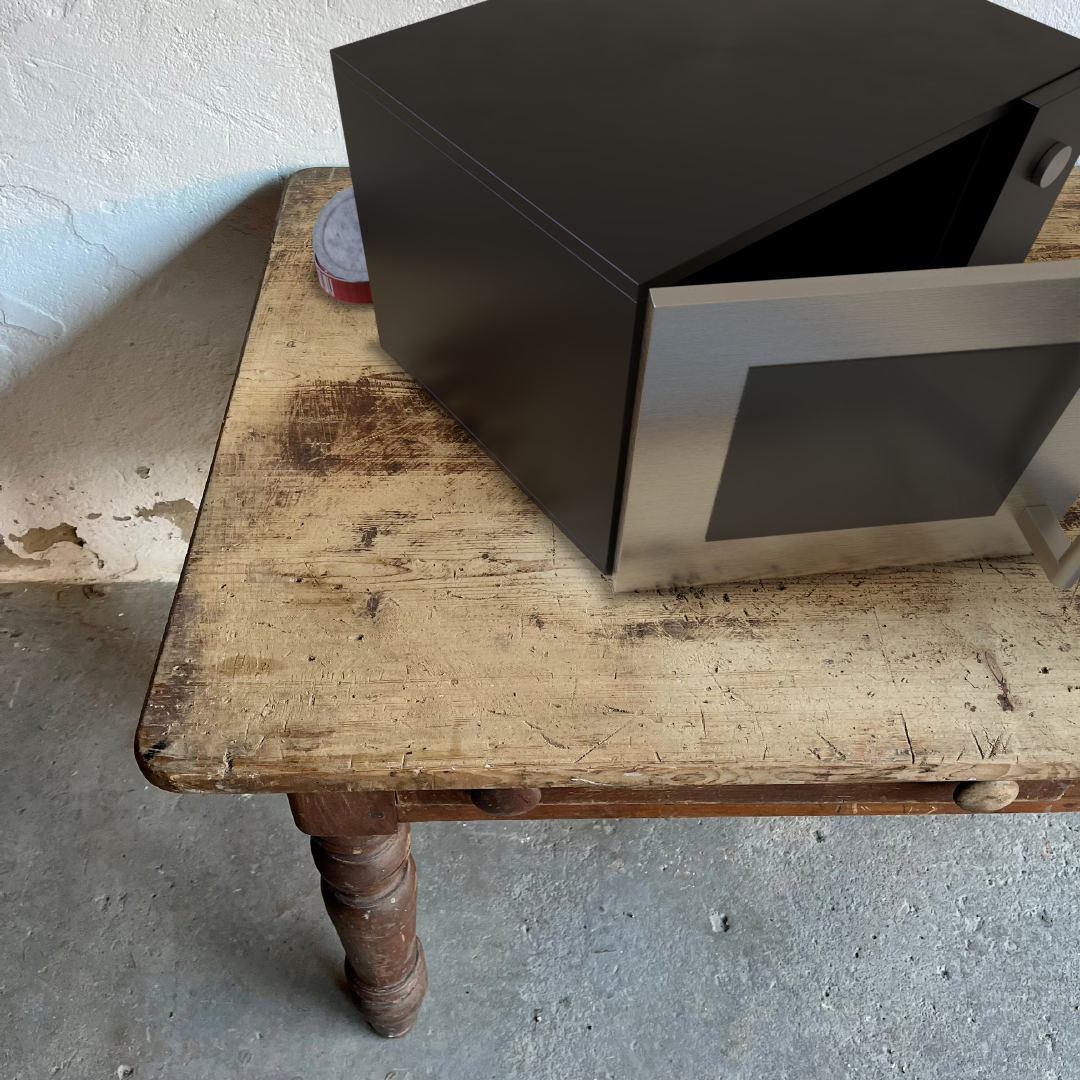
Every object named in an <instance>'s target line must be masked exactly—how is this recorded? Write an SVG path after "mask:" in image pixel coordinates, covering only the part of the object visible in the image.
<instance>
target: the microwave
mask: <svg viewBox="0 0 1080 1080" xmlns="http://www.w3.org/2000/svg"><path fill="white" fill-rule="evenodd" d="M329 56H330V60H331V68H332V69H331V70H332V74H333V75H332V76H333V80H334V86H335V91H336V98H337V105H338V109H339V116H340V121H341V127H342V132H343V133H342V134H343V138H344V144H345V150H346V156H347V162H348V166H349V173H350V178H351V183H352V184H351V185H353V191H354V197H355V202H356V208H357V214H358V220H359V226H360V231H361V237H362V243H363V249H364V254H365V260H366V266H367V272H368V278H369V283H370V289H371V295H372V301H373V302H372V306H373V312H374V317H375V323H376V329H377V334H378V335H377V336H378V340H379V346H380V347H381V349H382V350H383V351H384V352H385V353H386V354H387V355H388V356H389V357H390V359H392V360H393V361H394V362H395V363H396V364H397V365H398V366H399V367H400V368H401V369H402V371H404V372H405V373H406V374H407V375H408V376H409V377H410V378H411V379H412V380H413V381H414V382H415V383H416V384H417V386H418V387H420V388H421V390H422V391H424V393H425V394H426V395H427V396H429V398H430V399H431V400H432V401H433V402H434V403H435V404H436V405H437V406H438V407H439V408H440V409H441V410H442V411H443V412H444V413H445V414H446V415H447V416H448V417H449V418H450V419H451V420H452V421H453V422H454V423H455V424H456V425H457V426H458V427H459V428H460V430H461V431H462V432H464V433H465V434H466V435H467V436H468V438H469V439H470V440H471V441H472V442H473V443H474V444H475V445H476V446H477V447H478V448H479V449H480V450H481V451H482V452H483V453H484V454H485V455H486V456H487V457H488V459H490V460H491V462H493V463H494V464H495V465H496V466H497V467H498V469H500V470H501V471H502V472H503V473H504V474H505V475H506V476H507V478H509V479H510V481H511V482H512V483H513V484H515V485H516V486H517V488H519V490H520V492H522V493H523V494H524V495H525V496H526V497H527V498H528V499H529V500H530V501H531V502H532V503H533V504H534V505H535V506H536V507H537V508H538V510H540V511H541V512H542V514H544V515H545V516H546V517H547V518H548V519H549V520H550V521H551V523H552V524H553V525H554V526H556V528H557V529H558V530H559V531H560V532H561V533H562V534H563V535H564V536H565V537H566V538H567V539H568V540H569V541H570V542H571V543H572V544H573V545H574V546H575V547H576V548H577V549H578V550H579V551H580V552H581V553H582V554H583V555H584V557H586V558H587V559H588V560H589V561H590V562H591V563H592V565H594V566H595V567H596V569H598V570H599V572H601V574H602V575H603V576H606V575H608V574H609V573H612V571H613V563H614V556H615V548H616V540H617V532H618V525H619V517H620V509H621V501H622V494H623V486H624V478H625V471H626V463H627V455H628V447H629V440H630V432H631V424H632V416H633V409H634V401H635V393H636V385H637V378H638V370H639V362H640V354H641V347H642V339H643V331H644V324H645V316H646V308H647V300H648V293H649V289H650V288H663V287H677V286H692V285H707V284H722V283H737V282H751V281H766V280H781V279H796V278H811V277H825V276H840V275H855V274H870V273H885V272H899V271H914V270H929V269H944V268H959V267H973V266H988V265H1003V264H1018V263H1025V261H1026V259H1027V257H1028V255H1029V253H1030V252H1031V249H1032V248H1033V246H1034V244H1035V242H1036V240H1037V238H1038V236H1039V234H1040V232H1041V230H1042V228H1043V226H1044V225H1045V223H1046V222H1047V219H1048V217H1049V215H1050V213H1051V211H1052V210H1053V208H1054V205H1055V204H1056V201H1057V200H1058V198H1059V195H1060V194H1061V192H1062V190H1063V188H1064V186H1065V184H1066V182H1067V181H1068V179H1069V177H1070V175H1071V173H1072V171H1073V170H1074V167H1075V165H1076V163H1077V161H1078V160H1079V157H1080V37H1077V36H1075V35H1072V34H1070V33H1067V32H1065V31H1063V30H1060V29H1058V28H1055V27H1053V26H1051V25H1047V24H1046V23H1043V22H1041V21H1039V20H1036V19H1034V18H1032V17H1029V16H1026V15H1024V14H1022V13H1019V12H1017V11H1014V10H1012V9H1009V8H1007V7H1005V6H1002V5H1000V4H997V3H996V2H992V1H990V0H484V1H483V0H482V1H480V2H477V3H473V4H471V5H466V6H464V7H460V8H457V9H455V10H451V11H448V12H445V13H442V14H439V15H435V16H432V17H429V18H427V19H423V20H420V21H419V20H418V21H417V22H413V23H409V24H407V25H404V26H400V27H396V28H394V29H390V30H388V31H387V30H386V31H384V32H381V33H378V34H375V35H371V36H369V37H365V38H362V39H359V40H358V39H357V40H355V41H352V42H349V43H346V44H342V45H339V46H337V47H333V48H330V49H329Z"/></svg>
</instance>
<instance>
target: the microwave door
mask: <svg viewBox="0 0 1080 1080" xmlns="http://www.w3.org/2000/svg"><path fill="white" fill-rule="evenodd" d="M1079 498H1080V259H1078V258H1077V259H1065V260H1063V259H1061V260H1050V261H1034V262H1024V263H1018V264H1003V265H988V266H973V267H959V268H944V269H929V270H914V271H899V272H885V273H870V274H855V275H840V276H825V277H811V278H796V279H781V280H766V281H751V282H737V283H722V284H707V285H692V286H677V287H663V288H650V289H649V293H648V300H647V308H646V316H645V324H644V331H643V339H642V347H641V354H640V362H639V370H638V378H637V385H636V393H635V401H634V409H633V416H632V424H631V432H630V440H629V447H628V455H627V463H626V471H625V478H624V486H623V494H622V501H621V509H620V517H619V525H618V532H617V540H616V548H615V556H614V563H613V571H611V580H612V585H613V590H614V593H616V594H617V593H627V592H638V591H650V590H659V589H670V588H680V587H681V588H682V587H692V586H700V585H701V586H703V585H712V584H721V583H722V584H723V583H733V582H744V581H755V580H756V581H757V580H765V579H778V578H788V577H797V576H807V575H808V576H809V575H817V574H829V573H840V572H851V571H862V570H871V569H880V568H881V569H883V568H894V567H902V566H915V565H924V564H933V563H934V564H935V563H945V562H955V561H967V560H977V559H986V558H988V559H989V558H998V557H1008V556H1019V555H1031V554H1033V555H1034V557H1035V558H1036V560H1037V562H1038V564H1039V565H1040V567H1041V569H1042V571H1043V573H1044V575H1045V576H1046V578H1047V580H1048V582H1049V583H1050V584H1051V585H1052V586H1053V587H1055V588H1057V589H1060V590H1069V589H1071V588H1072V587H1073V586H1074V585H1075V584H1076V583H1077V581H1078V580H1079V579H1080V533H1078V535H1077V536H1076V537H1075V539H1074V540H1073V541H1072V542H1071V540H1070V539H1069V537H1068V535H1067V534H1066V532H1065V530H1064V529H1063V527H1062V525H1061V524H1060V522H1061V521H1062V520H1063V518H1064V517H1065V516H1066V514H1067V513H1068V511H1069V510H1070V509H1071V507H1072V506H1073V505H1074V504H1075V502H1076V501H1077V499H1079Z"/></svg>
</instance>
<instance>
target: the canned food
mask: <svg viewBox="0 0 1080 1080" xmlns="http://www.w3.org/2000/svg"><path fill="white" fill-rule="evenodd" d="M312 250H313V251H314V253H313V261H314V263H315V268H316V273H317V277H318V281H319V284H320V286H321V288H322V290H323V291H324V292H325V293H326V294H328V295H329V296H330V297H332V298H334V299H336V300H339V301H342V302H346V303H351V304H371V303H372V304H373V301H372V295H371V289H370V283H369V278H368V272H367V266H366V260H365V254H364V249H363V243H362V237H361V231H360V226H359V220H358V214H357V208H356V202H355V197H354V191H353V185H352V184H351V185H350V186H348V187H346V188H344V189H341V190H340V191H337V192H336V193H334V195H333V196H332V197H331V198H330V199H329V201H328V202H326V204H325V205H324V206H323V207H322V208H321V209H320V210H319V213H318V215H317V218H316V220H315V223H314V225H313V227H312Z"/></svg>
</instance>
